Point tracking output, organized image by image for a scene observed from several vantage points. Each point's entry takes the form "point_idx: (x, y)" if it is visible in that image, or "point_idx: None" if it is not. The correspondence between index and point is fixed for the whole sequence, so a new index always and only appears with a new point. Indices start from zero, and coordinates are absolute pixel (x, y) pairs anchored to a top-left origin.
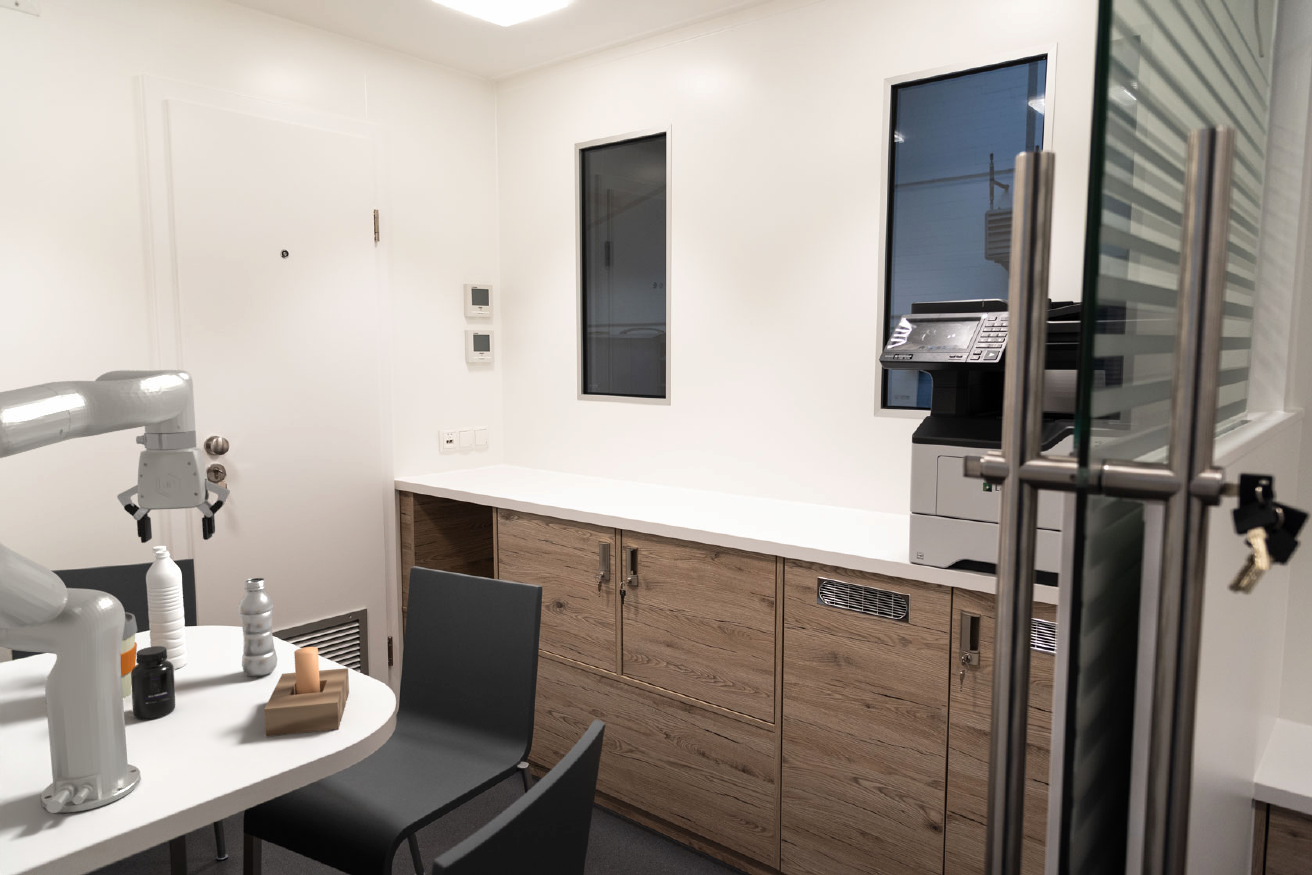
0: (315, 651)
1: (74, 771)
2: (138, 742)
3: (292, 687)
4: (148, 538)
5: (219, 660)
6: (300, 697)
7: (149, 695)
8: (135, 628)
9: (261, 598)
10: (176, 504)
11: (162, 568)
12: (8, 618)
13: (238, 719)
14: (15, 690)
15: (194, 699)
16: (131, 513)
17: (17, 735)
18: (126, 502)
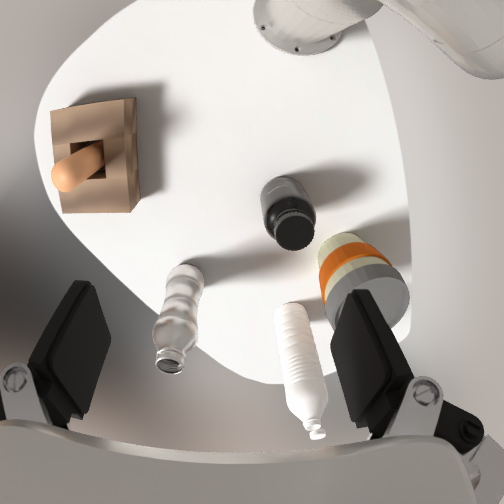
0: (52, 171)
1: None
2: (281, 117)
3: (105, 164)
4: (342, 322)
5: (242, 317)
6: (89, 130)
7: (286, 185)
8: (327, 306)
9: (160, 337)
10: (139, 482)
11: (309, 404)
12: None
13: (177, 150)
14: (409, 286)
15: (244, 222)
16: (448, 408)
17: (401, 182)
18: (481, 453)
